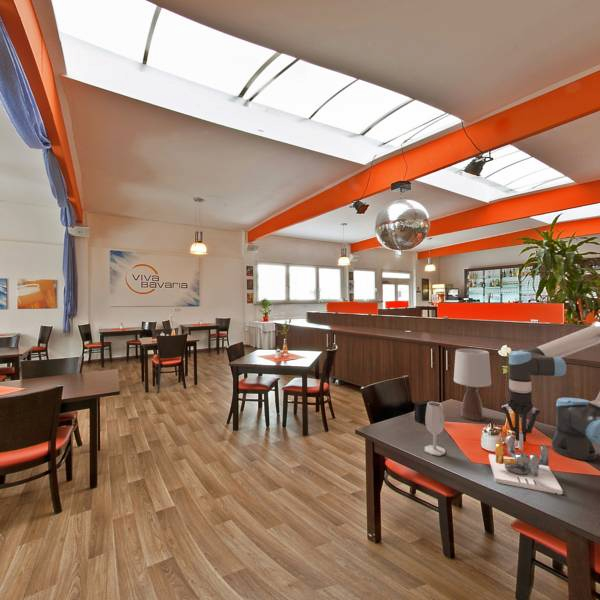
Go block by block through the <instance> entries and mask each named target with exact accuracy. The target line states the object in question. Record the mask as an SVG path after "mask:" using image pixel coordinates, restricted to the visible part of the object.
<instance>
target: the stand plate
mask: <svg viewBox="0 0 600 600" xmlns="http://www.w3.org/2000/svg"><path fill="white" fill-rule="evenodd" d="M504 459H515V458H514V457H513V456H510V457H509V456H505V455H504ZM488 460H489V463H490V468H491V471H492V475H493V480H494V483H496V484H504V485H508V486H512V487H519V488H525V489H530V490H534V491H541V492H544V493H545V492H546V493H551V494H555V493H557V494H556V495H561V494H564V493H563V492H564V490H563V488H562V487H561V485H560V483H559V481H558V480H557V479H556V477H555V475H554V474H553V472H552V470H551V468H550V467H549V466H544V465H539V476H538V477H535V476H532V475H530V473H529V474H527V475H519V474H515V473H512V472H510V471H508V470H507V469H506V468H505V463H504V464H498V463H496V454H492V453H488Z"/></svg>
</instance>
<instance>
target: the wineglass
mask: <svg viewBox="0 0 600 600" xmlns="http://www.w3.org/2000/svg"><path fill="white" fill-rule="evenodd" d="M444 413H445V412H444V407H443V406H442V403H440V402H436V401H431V402H428V404H427V407H426V413H425V422H424V423H425V427H426V430H427V431H428V432H429V433H430V434H432V444H429V445H426V446H424V452H425V453H427V454H429V455H431V456H438V457H441V456H443V455H444V456H445V454H446V450H445V448H443V447H441V446H439V445H437V435H439V434H440V433H441V432H443V431H444V428H445V415H444Z"/></svg>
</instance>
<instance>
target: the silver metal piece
mask: <svg viewBox="0 0 600 600" xmlns="http://www.w3.org/2000/svg"><path fill="white" fill-rule="evenodd" d="M506 438H507V439H506V442H507V443H506V448H507V450H506V451H507V452H506V453H507V454H508V455H511V457H512V458H515V459H504V456H505V453H504V449H505V448H504V444H502V443H499V442H497V443H495V455H496V463H498V464H504V463H505V468H506V469H507V470H508V471H510V472H512V473H515V474H519V475H527V474H529V473H530V475H532V476H535V477H538V476H539V465H544V466H548V467H549V466H550V465H549V464H550V462H549V461H550V458H549V457H550V453H549V452H550V447H549V446H548V445H546V444H540V445H539V449H540V450H539V452H540V453H539V455H537V454H535V453H534V454H533V453H530V454H529V455H528V454H526V453H523V452H516V439H515V435H510V434H509V435H508V434H507V437H506ZM539 456H540V457H539Z"/></svg>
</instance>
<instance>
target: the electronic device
mask: <svg viewBox="0 0 600 600" xmlns="http://www.w3.org/2000/svg"><path fill="white" fill-rule="evenodd" d="M428 402H432V400H421V401H416V402H414V421H416V422H418V423H419V424H421V423H425V413H426V407H427V404H428Z"/></svg>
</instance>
